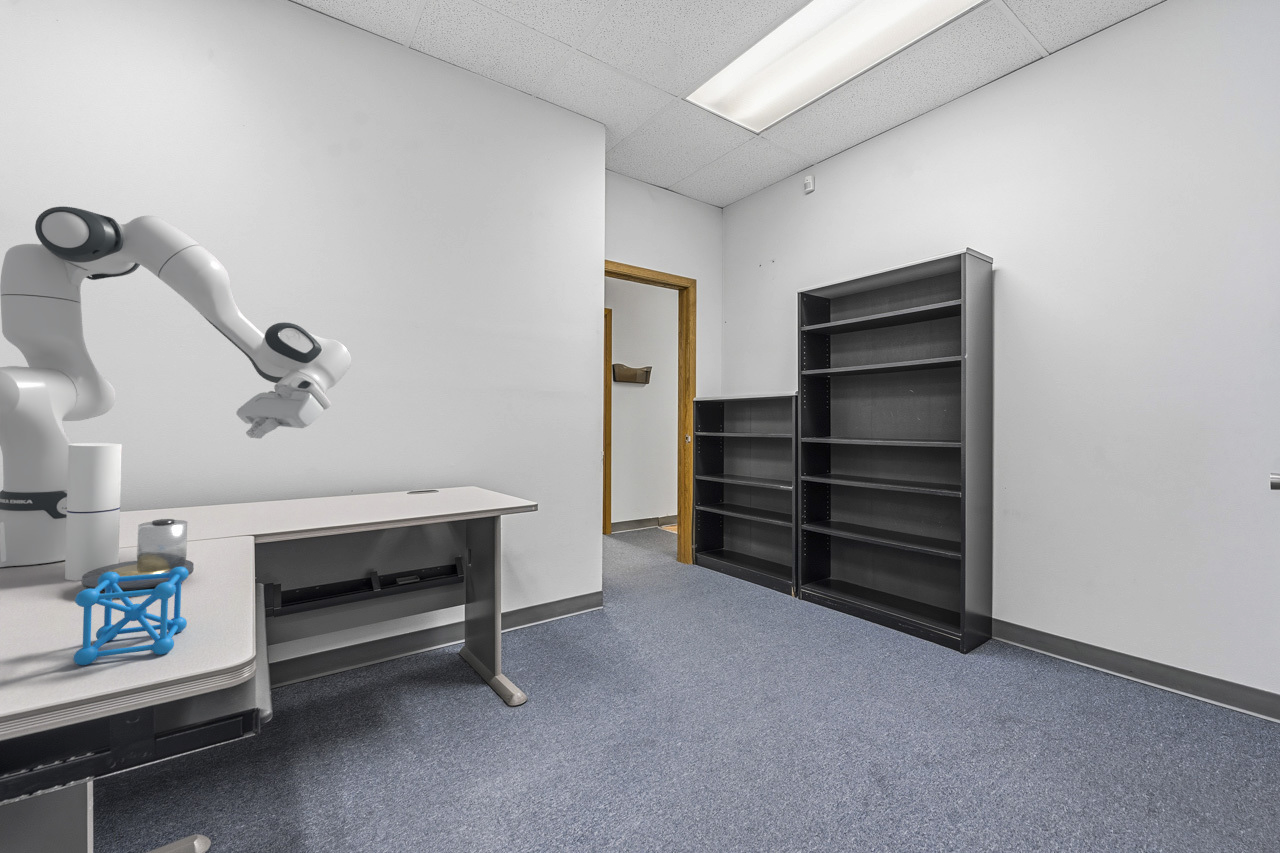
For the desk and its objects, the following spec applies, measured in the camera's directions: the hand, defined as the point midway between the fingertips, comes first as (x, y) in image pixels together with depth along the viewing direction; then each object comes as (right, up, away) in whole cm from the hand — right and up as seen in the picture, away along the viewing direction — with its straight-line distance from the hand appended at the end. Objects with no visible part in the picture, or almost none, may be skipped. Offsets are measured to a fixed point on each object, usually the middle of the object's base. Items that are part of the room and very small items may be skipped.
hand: (252, 436), depth 116 cm
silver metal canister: (-7, -24, -14) cm, 29 cm away
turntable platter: (-8, -26, -17) cm, 32 cm away
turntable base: (-8, -27, -17) cm, 33 cm away
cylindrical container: (-21, -26, -13) cm, 36 cm away
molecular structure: (+13, -29, -40) cm, 51 cm away
